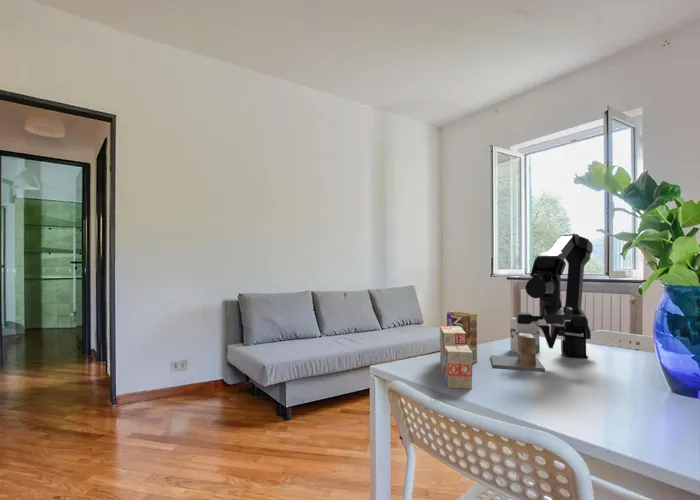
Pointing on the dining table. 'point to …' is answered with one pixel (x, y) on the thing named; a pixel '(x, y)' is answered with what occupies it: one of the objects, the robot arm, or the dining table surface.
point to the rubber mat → (514, 363)
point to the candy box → (466, 328)
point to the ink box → (522, 328)
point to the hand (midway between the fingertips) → (550, 348)
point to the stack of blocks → (455, 357)
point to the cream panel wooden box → (526, 349)
